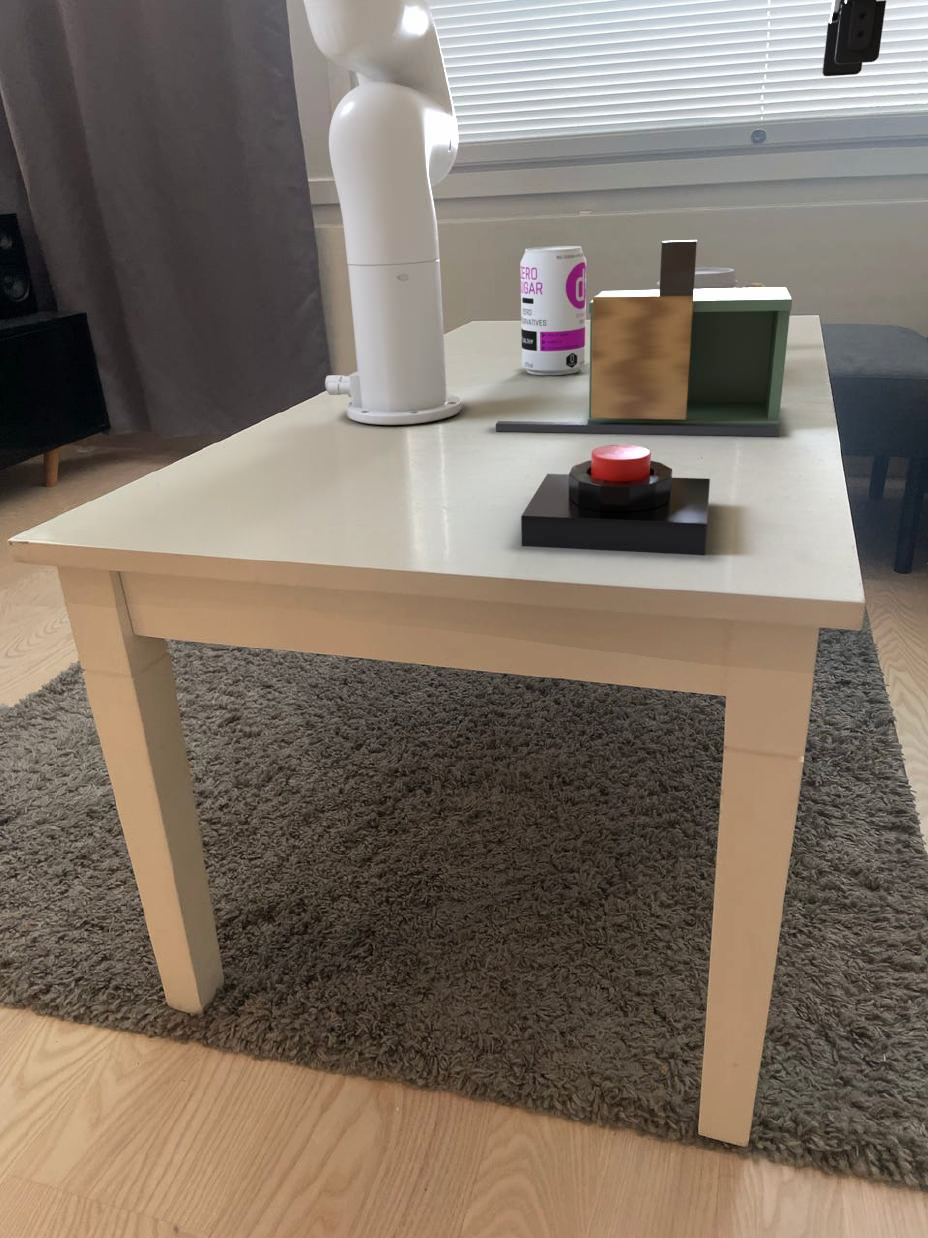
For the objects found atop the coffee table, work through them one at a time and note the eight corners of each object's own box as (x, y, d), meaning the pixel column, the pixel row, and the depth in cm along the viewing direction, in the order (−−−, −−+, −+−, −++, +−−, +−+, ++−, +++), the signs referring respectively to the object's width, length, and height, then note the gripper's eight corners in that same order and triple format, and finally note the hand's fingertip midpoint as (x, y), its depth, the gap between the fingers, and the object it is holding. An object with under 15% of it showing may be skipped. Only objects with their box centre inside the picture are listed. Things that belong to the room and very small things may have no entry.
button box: (521, 546, 61) (520, 489, 60) (547, 501, 70) (546, 450, 68) (704, 556, 58) (709, 496, 57) (707, 507, 67) (711, 453, 65)
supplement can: (594, 366, 121) (597, 245, 115) (567, 377, 115) (567, 250, 109) (540, 363, 125) (540, 245, 119) (511, 374, 119) (508, 250, 113)
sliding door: (590, 418, 88) (593, 244, 82) (592, 416, 89) (595, 243, 83) (686, 420, 86) (696, 240, 79) (686, 417, 87) (697, 239, 80)
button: (587, 484, 62) (587, 458, 61) (594, 467, 65) (595, 443, 64) (647, 486, 61) (648, 460, 60) (651, 469, 64) (653, 444, 63)
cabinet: (495, 431, 91) (491, 305, 86) (518, 406, 101) (516, 292, 96) (779, 436, 85) (793, 300, 79) (773, 409, 94) (785, 287, 89)
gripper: (817, -151, 78) (793, 81, 85) (841, -230, 62) (810, 60, 70) (912, -162, 76) (880, 76, 83) (961, -247, 61) (916, 53, 68)
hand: (848, 68), depth 76 cm, fingers open, 9 cm apart
